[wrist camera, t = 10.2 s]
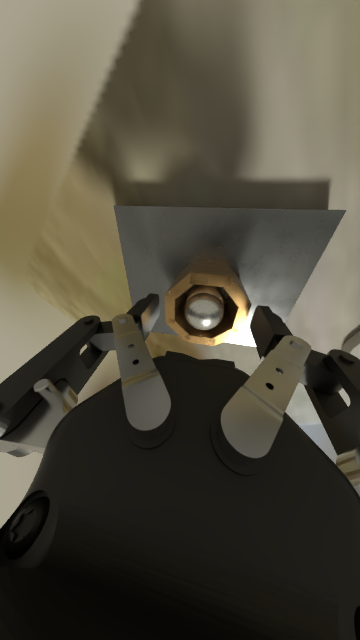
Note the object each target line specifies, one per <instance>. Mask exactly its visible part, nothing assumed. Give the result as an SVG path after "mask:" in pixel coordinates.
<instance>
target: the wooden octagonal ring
mask: <svg viewBox="0 0 360 640" xmlns="http://www.w3.org/2000/svg"><path fill="white" fill-rule="evenodd" d="M194 284H197V285H207V286H217V287H223V288H224V289H225V290H226V291H227V293H228V294H229V296H228V300H227V301H226V302H225V303H223V306H224V314H223V318H222V320H221V321H220V323H219V324H218V325H217V326H215V327H214V328H212V329H209V330H199V329H196V328H194V327H193V326H191V325H190V324H189V323H188V321H187V319H186V317H185V312H184V309H185V305H186V301H187V299H186V297H185V296H184V292H185V291H186V290H188V289H189V288H190V287H191V286H193V285H194ZM251 305H252V304H251V302H250V300H249V297H248V295H247V293H246V291H245V289H244V286H243V284H242V282H241V280H240V279H239V277H238V276H237V275H236V273H235V272H234V270H233V269H232V268H231V266H230V265H229V263H228V262H227V261H226V259H215V258H202V257H197V258H196V259H195V260H194V261H192V262H191V263H190V264H189V265H188V266H187V267H186V268H185V269H184V270H183V271H181V272H180V273H179V274H178V275H177V277H176V278H175V280H174V281H173V283H172V284H171V286H170V287H169V289H168V290H167V292H166V293H165V321H166V323H167V324H168V325H169V326H170V327H171V328H172V329H173V330H174V331H175V332H176V333H177V334H178V335H179V336H180V337H181V338H182V339H183V340H184V341H186V342H192V343H199V344H205V345H211V346H215V345H217V344H219V343H222V342H224V341H226V340H228V339H230V338H232V337H234V336H236V335H239V334H241V333H242V330H243V327H244V325H245V322H246V319H247V316H248V314H249V311H250V308H251Z"/></svg>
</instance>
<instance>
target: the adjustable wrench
mask: <svg viewBox="0 0 360 640" xmlns="http://www.w3.org/2000/svg"><path fill="white" fill-rule="evenodd" d="M341 350H342V351H345V352H348V353H350V354H352V355H354V356H355V357H357V358H359V359H360V331H358V332H357V333H356V334H355V335H354V336H352V337H351V338H350V339H349V340H347V341H346V342H345V343H344V345H343V346H342V349H341Z"/></svg>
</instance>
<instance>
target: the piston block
mask: <svg viewBox="0 0 360 640" xmlns="http://www.w3.org/2000/svg"><path fill="white" fill-rule="evenodd" d="M114 210H115V215H116V221H117V226H118V231H119V237H120V242H121V247H122V253H123V258H124V264H125V269H126V274H127V280H128V285H129V290H130V296H131V301H132V306H134V305H135V304H136V303H137V302H138V301H139V300H141V299H143V298H146V297H147V295H148V294H149V293H152V294H158V295H159V302H160V315H159V317H158V319H157V321H156V323H155V324H154V326H153V328H152V330H151V331H152V332H158V333H165V334H172V335H178V334H177V333H176V332H175V331H174V330H173V329H172V328H171V327H170V326H169V325H168V324H167V323H166V321H165V293H166V292H167V290H168V289H169V287H170V286H171V284H172V283H173V281H174V280H175V278H176V277H177V275H178V274H179V273H180V272H181V271H183V270H184V269H185V268H186V267H187V266H188V265H189V264H190V263H191V262H192V261H194V260H195V259H196V258H197V257H202V258H215V259H226V261H227V262H228V263H229V265H230V266H231V268H232V269H233V270H234V272H235V273H236V275H237V276H238V277H239V279H240V280H241V282H242V284H243V286H244V289H245V291H246V293H247V295H248V297H249V300H250V302H251V304H252V305H251V308H250V311H249V314H248V316H247V319H246V322H245V325H244V327H243V330H242V333H241V334H239V335H236V336H234V337H232V338H230V339H228V340H226V341H224V342H227V343H233V344H240V345H247V346H254V347H256V345H255V342H254V339H253V336H252V333H251V330H250V322H251V319H252V317H253V314H254V311H255V309H256V307H257V306H258V305H261V306H269V307H270V309H271V310H272V312H273V313H275V314H277V315H278V316H279V317H281V319H282V320H283V322H284V323H285V321H286V319H287V317H288V316H289V314H290V312H291V310H292V308H293V307H294V305H295V303H296V301H297V299H298V297H299V296H300V294H301V292H302V290H303V288H304V287H305V285H306V283H307V281H308V279H309V277H310V276H311V274H312V272H313V270H314V268H315V266H316V265H317V263H318V261H319V259H320V257H321V256H322V254H323V252H324V250H325V248H326V246H327V245H328V243H329V241H330V239H331V237H332V236H333V234H334V232H335V230H336V228H337V226H338V225H339V223H340V221H341V219H342V217H343V215H344V214H345V212H346V210H314V209H263V208H213V207H163V206H114ZM184 296H185V297H186V299H187V301H186V305H185V309H184V312H185V317H186V319H187V321H188V323H189V324H190V325H191V326H193V327H194V328H196V329H199V330H209V329H212V328H214V327H215V326H217V325H218V324H219V323H220V321H221V320H222V318H223V314H224V306H223V303H225V302H226V301H227V300H228V296H229V294H228V293H227V291H226V290H225V289H224V288H223V287H217V286H207V285H197V284H194V285H193V286H191V287H190V288H189V289H188V290H186V291H185V292H184Z"/></svg>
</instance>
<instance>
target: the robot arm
mask: <svg viewBox="0 0 360 640" xmlns="http://www.w3.org/2000/svg"><path fill="white" fill-rule="evenodd" d="M159 315H160V302H159V295H158V294H152V293H149V294H148V295H147V297H146V298H143V299H141V300H139V301H138V302H137V303H136V304H135V305H134V306H133V307H132V308H131V309H130V310H129V311H128V312H127V313H126V314H120V315H117V316H115V317H114V318H113V319H112V321H106V322H101V320H100V318H99V317H98V316H86V317H84V318H81V319H80V320H78V321H77V322H76V323H75V324H74V325H72V326H71V327H70V328H69V329H67V330H66V331H65V332H64V333H62V334H61V335H60V336H59V337H57V338H56V339H55V340H54V341H52V342H51V343H50V344H49V345H48V346H46V347H45V348H44V349H43V350H41V351H40V352H39V353H38V354H36V355H35V356H34V357H33V358H31V359H30V360H29V361H28V362H27V363H25V364H24V365H23V366H22V367H20V368H19V369H18V370H17V371H16V372H14V373H13V374H12V375H10V376H9V377H8V378H7V379H6V380H5V381H3V382H2V383H1V384H0V452H6V453H9V454H11V455H13V456H16V457H23V456H26V455H28V454H30V453H32V452H38V453H43V454H44V455H43V458H42V461H41V463H40V466H39V468H38V471H37V473H36V475H35V478H34V480H33V482H32V484H31V486H30V488H29V490H28V492H27V493H26V495H25V497H24V499H23V500H22V502H21V503H20V505H19V506H18V508H17V509H16V510H15V512H14V513H13V514H12V515H11V517H10V518H9V519H8V520H7V522H6V523H5V524H4V525H3V526H2V528H1V529H0V640H360V359H359V358H357V357H355V356H354V355H352V354H350V353H348V352H345V351H342V350H336V349H333V350H331V351H329V353H328V354H327V355H326V354H323V353H320V352H317V351H313V350H311V346H310V345H309V344H308V343H307V342H306V341H304V340H303V339H301V338H298V337H296V336H293V335H292V333H291V332H290V330H289V329H288V328H287V326H286V325H285V323H284V322H283V320H282V319H281V317H279V316H278V315H277V314H275V313H273V312H272V310H271V309H270V307H269V306H261V305H258V306H257V307H256V309H255V311H254V314H253V317H252V319H251V322H250V330H251V333H252V336H253V339H254V342H255V345H256V348H257V351H258V354H259V357H260V360H263V361H262V363H261V364H260V365H259V366H258V368H257V369H256V370H255V371H254V373H253V374H252V375H251V376H249V375H248V374H246V373H245V372H243V371H242V370H240V369H237V368H235V364H234V362H232V361H226V360H220V359H206V360H199V359H196V358H193V357H191V356H188V355H185V354H183V353H177V352H171V351H167V352H166V355H165V356H159V357H155V358H153V359H152V357H151V355H150V353H149V350H148V348H147V345H146V343H145V340H146V338H147V337H148V335H149V333H150V331H151V330H152V328H153V326H154V324H155V323H156V321H157V319H158V317H159ZM85 344H86V345H87V348H86V349H85V350H84V351H83V353H82V354H81V355H80V350H81V349H82V347H83V346H84V345H85ZM110 350H116V353H117V359H118V365H119V370H120V376H121V378H120V379H118V380H116V381H115V382H113V383H112V384H110V385H108V386H107V387H105V388H104V389H102V390H100V391H99V392H97V393H96V394H94V395H93V396H91V397H89V398H88V399H86V400H85V401H83V402H82V403H80V404H78V405H77V402H78V396H77V395H78V394H79V392H80V391H81V390H82V388H83V387H84V385H85V384H86V383H87V381H88V380H89V378H90V377H91V376H92V374H93V373H94V371H95V370H96V369H97V367H98V366H99V364H100V363H101V362H102V360H103V359H104V357H105V356H106V355H107V353H108V352H109V351H110ZM298 382H299V383H301V384H304V387H305V389H306V391H307V393H308V395H309V397H310V399H311V401H312V403H313V406H314V408H315V410H316V412H317V414H318V416H319V418H320V420H321V422H322V424H323V426H324V428H325V430H326V433H327V434H328V437H329V439H330V440H331V443H332V445H333V447H334V449H335V451H336V453H337V455H338V457H337V459H336V464H335V463H334V462H333V461H332V460H331V459H330V458H329V457H328V456H327V455H326V454H325V453H324V452H323V451H322V450H321V449H320V448H319V447H318V446H317V445H316V444H315V443H314V442H313V441H312V439H311V438H310V437H309V436H308V435H307V434H306V433H305V432H304V431H303V430H302V429H301V428H300V427H299V426H298V425H297V424H296V423H295V422H294V421H293V420H292V419H291V418H290V417H289V416H288V414H287V413H286V412H285V410H286V408H287V406H288V404H289V402H290V399H291V397H292V395H293V393H294V391H295V389H296V386H297V384H298ZM342 388H343V389H344V390H345V391H346V393H347V394H348V396H349V398H350V406H349V407H348V406H347V405H346V403H345V402H344V400H343V399H342V397H341V396H340V394H339V393H338V391H339V390H341V389H342ZM76 405H77V406H76Z"/></svg>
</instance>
